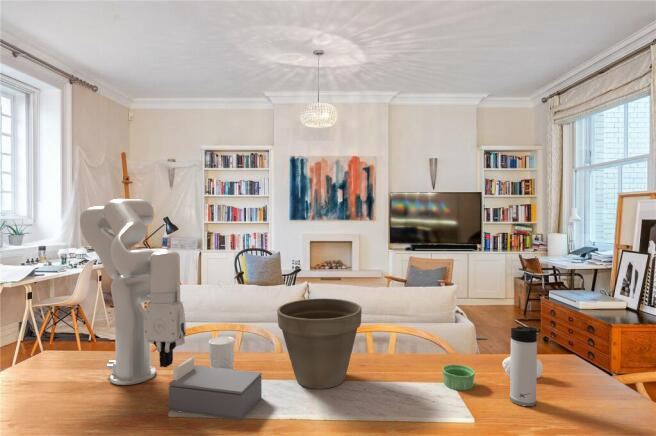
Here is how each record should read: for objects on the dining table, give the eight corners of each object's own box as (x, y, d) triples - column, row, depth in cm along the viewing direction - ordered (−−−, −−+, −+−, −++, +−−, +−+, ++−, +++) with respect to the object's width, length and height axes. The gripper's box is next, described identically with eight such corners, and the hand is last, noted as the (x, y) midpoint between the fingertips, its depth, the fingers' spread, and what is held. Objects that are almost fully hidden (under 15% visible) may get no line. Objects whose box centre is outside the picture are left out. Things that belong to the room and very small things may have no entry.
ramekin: (439, 388, 118) (439, 372, 118) (445, 376, 126) (445, 362, 126) (472, 394, 114) (473, 378, 114) (476, 382, 122) (476, 367, 122)
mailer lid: (168, 385, 105) (168, 371, 105) (194, 367, 116) (194, 354, 116) (241, 394, 100) (241, 379, 100) (261, 374, 111) (261, 361, 111)
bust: (540, 383, 126) (529, 346, 133) (551, 376, 120) (539, 338, 127) (501, 383, 126) (492, 346, 133) (510, 376, 120) (500, 338, 127)
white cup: (228, 378, 125) (227, 345, 124) (203, 375, 126) (203, 343, 126) (238, 368, 132) (238, 336, 132) (216, 366, 134) (215, 335, 134)
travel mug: (526, 409, 105) (527, 331, 105) (504, 399, 111) (505, 325, 110) (542, 404, 108) (543, 328, 107) (520, 394, 114) (521, 322, 113)
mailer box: (168, 410, 105) (168, 386, 105) (195, 389, 116) (194, 368, 116) (241, 419, 100) (241, 395, 100) (261, 397, 112) (261, 375, 111)
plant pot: (281, 402, 109) (281, 320, 109) (274, 366, 133) (274, 299, 133) (372, 393, 114) (372, 315, 114) (349, 361, 138) (349, 296, 138)
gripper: (131, 299, 109) (132, 368, 110) (182, 301, 106) (182, 373, 106) (150, 293, 117) (151, 358, 117) (198, 295, 113) (198, 362, 113)
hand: (166, 365), depth 111 cm, fingers closed
